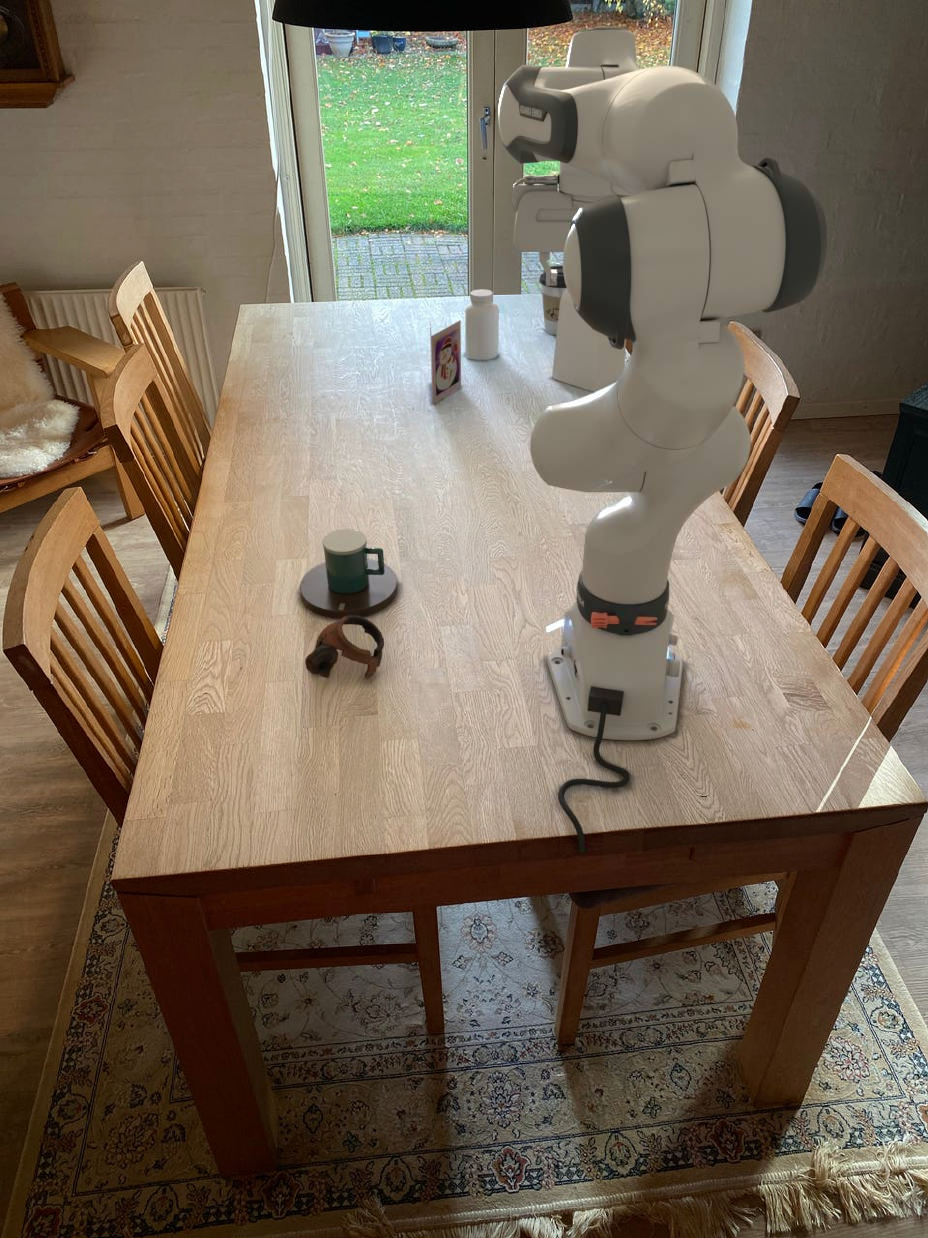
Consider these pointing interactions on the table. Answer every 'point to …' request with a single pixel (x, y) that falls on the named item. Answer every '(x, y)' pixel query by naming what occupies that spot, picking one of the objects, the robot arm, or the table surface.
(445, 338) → the greeting card
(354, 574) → the green lidded mug
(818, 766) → the table surface
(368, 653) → the brown strap loop
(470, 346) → the pill bottle
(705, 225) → the robot arm
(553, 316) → the coffee cup
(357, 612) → the turntable
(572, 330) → the milk
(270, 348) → the table surface
